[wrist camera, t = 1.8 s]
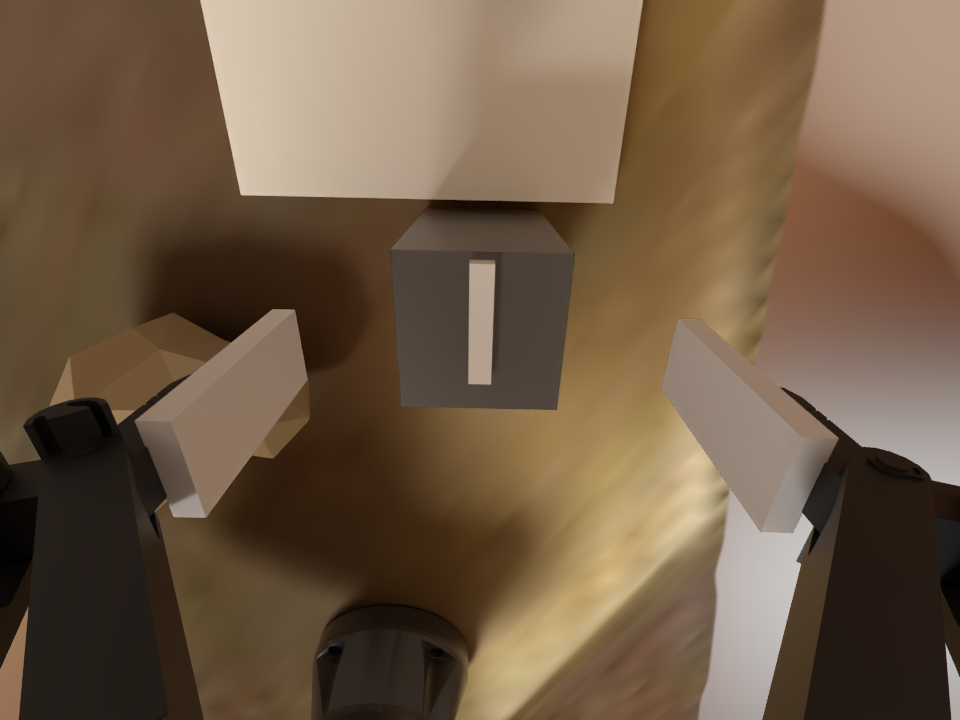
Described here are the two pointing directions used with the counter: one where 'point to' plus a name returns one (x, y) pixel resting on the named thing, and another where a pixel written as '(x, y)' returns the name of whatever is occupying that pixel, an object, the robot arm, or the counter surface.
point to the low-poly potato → (159, 373)
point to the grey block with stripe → (481, 309)
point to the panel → (425, 96)
